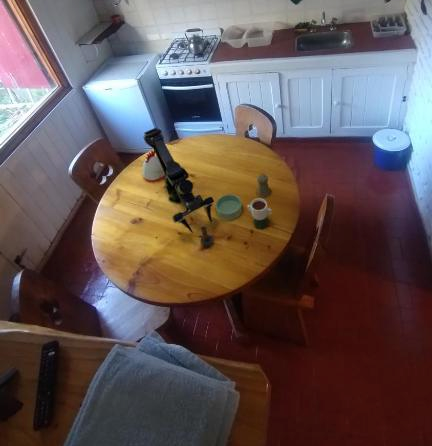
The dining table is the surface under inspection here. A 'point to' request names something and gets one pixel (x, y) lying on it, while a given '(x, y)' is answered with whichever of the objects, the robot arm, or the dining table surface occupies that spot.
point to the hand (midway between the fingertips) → (202, 227)
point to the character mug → (259, 212)
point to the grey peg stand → (206, 238)
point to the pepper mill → (263, 185)
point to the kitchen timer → (152, 168)
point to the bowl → (229, 207)
